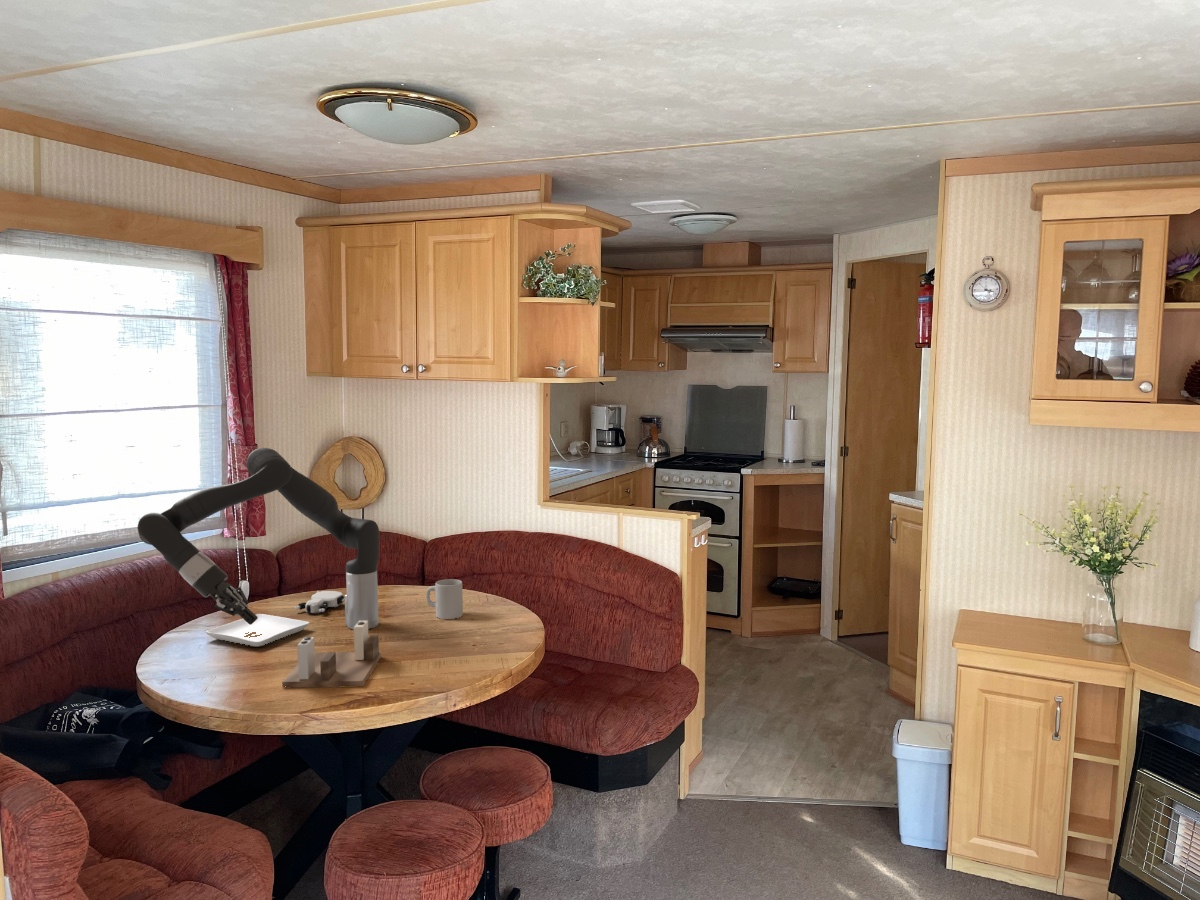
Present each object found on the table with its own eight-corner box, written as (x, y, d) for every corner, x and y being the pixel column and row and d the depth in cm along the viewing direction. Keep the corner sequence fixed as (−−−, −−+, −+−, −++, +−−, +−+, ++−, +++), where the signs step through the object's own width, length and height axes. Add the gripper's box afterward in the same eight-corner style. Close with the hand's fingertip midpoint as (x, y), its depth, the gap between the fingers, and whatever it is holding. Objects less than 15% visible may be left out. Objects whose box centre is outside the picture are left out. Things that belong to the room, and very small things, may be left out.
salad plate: (312, 631, 271) (311, 620, 270) (258, 652, 252) (258, 641, 251) (259, 623, 280) (259, 612, 279) (204, 642, 260) (203, 631, 260)
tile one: (354, 660, 239) (353, 626, 238) (360, 652, 245) (359, 619, 244) (363, 659, 240) (362, 626, 239) (368, 652, 245) (367, 619, 244)
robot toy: (324, 620, 285) (351, 604, 299) (323, 606, 284) (350, 591, 298) (292, 616, 289) (320, 600, 303) (290, 603, 288) (319, 588, 302)
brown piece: (282, 687, 224) (281, 662, 224) (308, 657, 246) (307, 634, 245) (362, 686, 225) (361, 661, 224) (381, 657, 247) (380, 634, 246)
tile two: (298, 679, 225) (297, 643, 224) (305, 671, 231) (304, 636, 230) (308, 679, 225) (307, 643, 224) (315, 670, 231) (313, 635, 230)
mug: (467, 613, 289) (466, 579, 288) (456, 620, 281) (456, 586, 279) (432, 610, 292) (431, 577, 290) (421, 618, 283) (420, 584, 282)
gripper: (202, 570, 218) (255, 618, 219) (223, 558, 231) (273, 604, 233) (181, 591, 218) (234, 640, 220) (203, 578, 231) (253, 624, 233)
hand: (254, 621), depth 226 cm, fingers closed
